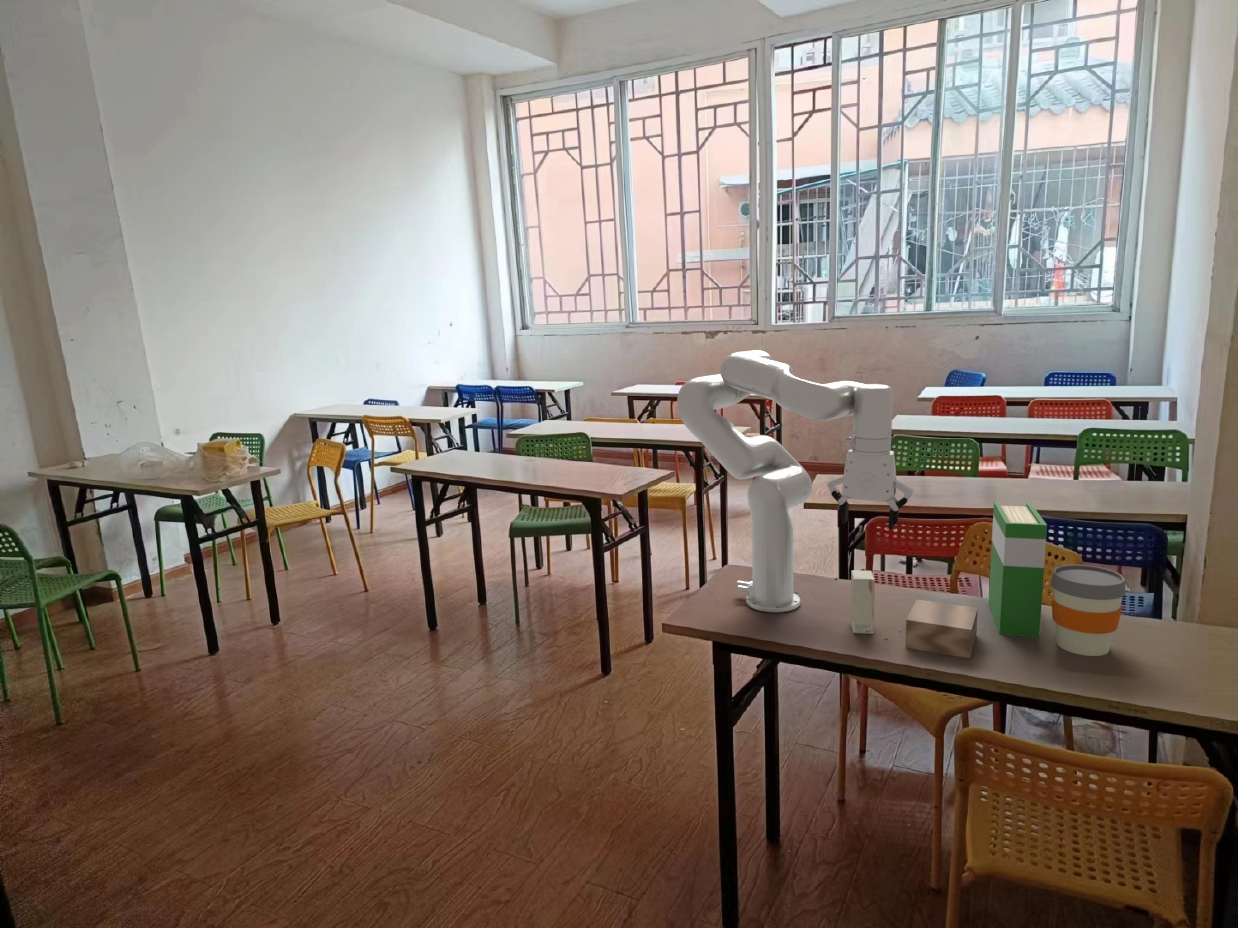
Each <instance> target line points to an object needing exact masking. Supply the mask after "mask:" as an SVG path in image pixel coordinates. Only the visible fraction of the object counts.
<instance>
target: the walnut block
mask: <svg viewBox="0 0 1238 928" xmlns="http://www.w3.org/2000/svg"><path fill="white" fill-rule="evenodd" d="M978 611H979V608H978V607H974V606H973V607H972V606H966V605H959V604H952V603H945V602H937V601H931V600H923V599H918V598H917V599H915V601H914V603H913V606H912V608H911V609H910V612H909V614H908V616H907V617H906V621H905V648H907V649H912V650H918V651H925V652H929V653H936V654H941V655H946V656H947V655H948V656H953V657H958V658H964V659H969V660H970V659H971V656H972V652H973V649H974V645H975V642H976V638H977V635H978V633H977V631H978V629H977V628H978Z"/></svg>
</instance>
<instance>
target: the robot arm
mask: <svg viewBox="0 0 1238 928" xmlns="http://www.w3.org/2000/svg"><path fill="white" fill-rule="evenodd" d="M751 395H754V396H758V397H762V398H765V399H768V400H771V401H773V402H775V403H776V404H777V405H778V406H780V407H781V408H782V409H784V410H785V411H788V412H789V413H792V414H795V415H798V416H801V417H804V418H807V419H811V420H813V421H820V422H828V421H833V420H836V419H841V418H845V417H851V416H853V419H852V420H853V421H852V435H851V436H850V437H845V440H844V441H845V444H846V445H849V446H850V447H851V449H848V451H847V453H846V458H845V461H844V471H843V475H842V476H840V477H837V478H834V479H832V480H830V481H829V482H827V487H828V490H829V492H830V493H831V494H830V495H831V496H832V498H833V499H834V500H835V501H836V502H837V504H838V505H839V509H838V511H839V512H838V515H839V516H838V518H839V519H841V522H840V523H841V524H843V525H844V524H846V522H848V521H849V514H850V513H849V511H850V510H849V509H850V503H849V502H848V500H849V499H852V500H857V501H858V500H859V501H868V502H878V503H880V502H881V503H887V504H888V505H889V507H890V508H891V509H890V510H889V512H888V529H889V530H894V528H895V527H896V526H897V525H898V523H899V509H901V508H902V507H903V506H905V505H906V504H907V503H908V501H909V500H910V498H912V495H914V492H915V490H914V489H913V488H911V487H910V486H908V485H906V484H904V483H903V482H901V481H899V480H898V479H897V470H896V460H895V454H894V451H893V450H891V448H892V446H891V445H892V429H893V427H892V426H893V408H894V407H893V406H894V405H893V403H894V390H893V389H892V387H891V386H889V385H887V384H883V383H882V384H881V383H867V384H865V383H861V382H856V381H851V380H840V381H834V382H828V383H823V384H821V383H817V382H814V381H813V382H812V381H809V380H806V379H801V378H799V377H797V376H795V373H794V369H793V367H792V366H791V365H789V364H788V363H785V362H780V361H777V360H774V359H773V357H772V356H771V354H769V353H767V352H766V351H763V350H762V349H761V350H760V349H752V350H745V351H736V352H732V353H730V354H729V355H727V356H725V357H724V359H723V360H722V362H721V364H720V366H719V373H717V374H709V375H703V376H697V377H694V378H692V379H689V380H687V381H686V382H685V383H684V384H682V386H681V387H680V389H679V390H678V394H677V399H676V400H677V401H676V402H677V404H676V405H677V411H678V415H679V417H680V419H681V421H682V423H683V424H684V426H685V427H686V429H687V430H688V431H689V432H690V433H691V434H692V435H693V436H694V437H696V438H697V440H698V441H699V442H701V443H702V445H703V446H705V448H706V449H707V450H708V451H709V452H710V454H711V455H712V456H713V457H714V458H715V459H716V461H718V463H720V464H721V466H722V467H723V468H724V470H726V471H727V472H728V474H730V475H731V476H732V477H733V478H735V479H736V480H741V481H742V480H747V479H751V478H754V479H753V480H752V481H751V483H750V484H749V486H748V488H747V504H748V508H749V514H750V520H751V523H750V525H751V553H752V554H751V558H752V559H751V561H752V564H751V566H752V571H751V572H752V575H751V576H752V580H750V581H745V580H741V579H740V580H739V579H738V580H737V581H736V588H737V591H738V592H743V593H747V595H746V597H745V603H746V605H747V606H748V607H750V608H752V609H754V610H756V611H760V612H765V613H785V612H786V613H787V612H790V611H793V610H795V609H798V607H799V606H800V605H801V598H800V596H799V595H798V594H796V593H795V592H794V555H795V554H794V553H795V551H794V527H793V521H792V519H791V517H790V513H789V509H792V508H794V507H797V506H799V505H801V504H803V503H805V502H807V500H808V499H809V498H810V497H811V496H812V495H811V494H812V492H813V481H812V479H811V476H810V474H809V473H808V472H807V470H806V469H805V468H804V467H803V466H802V464H800V462H798V461H797V460H796V458H794V456H792V454H790V452H789V451H787V449H786V448H785V447H784V446H783V445H782V444H781V443H780V442H779V441H777V440H776V439H774V438H773V437H772V436H769V435H764V434H757V435H753V436H746V435H745V434H743V433H742V432H741V431H740V429H738V428H737V427H736V425H734V423H733V422H732V421H730V420H729V419H728V418H726V417H724V416H723V415H721V414H719V413H718V412H716V411H715V410H721V409H725V408H730V407H732V406H734V405H736V404H738V403H740V402H741V401H743V400H744V399H746V398H748V397H749V396H751ZM838 485H842V493H841V492H840V491H839V490H838V488H837V486H838ZM897 490H898V491H901V492H902V493H903V494H904V495H903V496H902V497H901V498H900V499H899V500H898V498H897V497H895V496H896V492H897ZM895 525H896V526H895Z"/></svg>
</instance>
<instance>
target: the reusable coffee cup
mask: <svg viewBox="0 0 1238 928" xmlns="http://www.w3.org/2000/svg"><path fill="white" fill-rule="evenodd" d="M1050 587H1052V595H1051V597H1050V601H1051V614H1052V620H1053V622H1054V624H1055V636H1056V644H1057V646H1058V647H1059V648H1061V649H1063V650H1064V651H1067V652H1069V653H1073V654H1076V655H1080V656H1085V657H1099V656H1104V655H1107V654H1108V653H1109V651H1110V649H1111V644H1112V640H1113V637H1114V636H1113V635H1114V632H1115V631H1117V630H1118V626H1119V624H1120V619H1121V614H1122V611H1123V605H1122V601H1123V598H1124V596H1125V595H1126V579H1125V577H1124V576H1123V575H1122V574H1121V573H1119V572H1118V571H1114V570H1111V569H1108V568H1104V567H1101V566H1100V567H1099V566H1095V565H1088V564H1064V565H1063V564H1062V565H1059V566H1056V567H1055V568H1053V571H1052V575H1051V580H1050Z"/></svg>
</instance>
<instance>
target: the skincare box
mask: <svg viewBox="0 0 1238 928" xmlns="http://www.w3.org/2000/svg"><path fill="white" fill-rule="evenodd" d="M850 574H851V575H850V584H851V585H850V625H851V629H852V633H853V634H867V635H868V634H869V635H870V634H871V635H873V634H874V633H875V630H874V629H875V624H874V623H875V576H874V574H873V571H872V570H859V569H857V570H856V569H853V570H851V572H850Z"/></svg>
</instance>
